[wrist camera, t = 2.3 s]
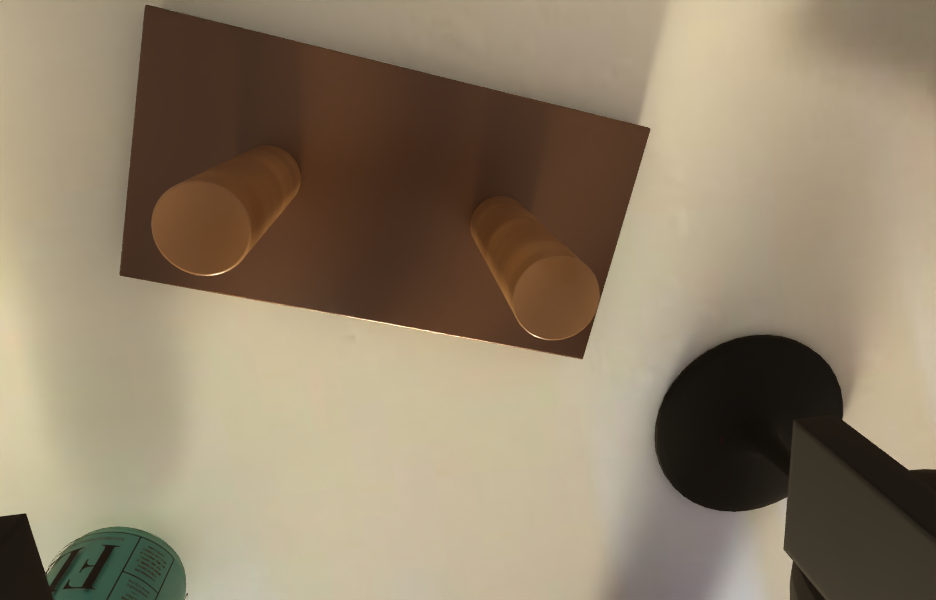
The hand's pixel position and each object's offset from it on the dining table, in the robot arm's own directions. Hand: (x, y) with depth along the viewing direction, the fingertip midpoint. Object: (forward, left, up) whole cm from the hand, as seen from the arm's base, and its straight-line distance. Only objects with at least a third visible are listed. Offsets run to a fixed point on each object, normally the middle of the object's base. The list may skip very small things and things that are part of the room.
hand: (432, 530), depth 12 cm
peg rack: (-1, +2, -21) cm, 21 cm away
